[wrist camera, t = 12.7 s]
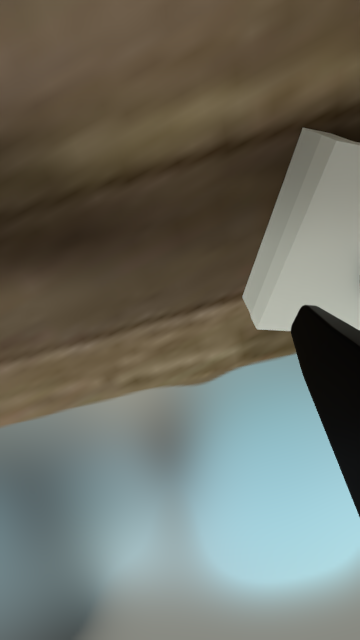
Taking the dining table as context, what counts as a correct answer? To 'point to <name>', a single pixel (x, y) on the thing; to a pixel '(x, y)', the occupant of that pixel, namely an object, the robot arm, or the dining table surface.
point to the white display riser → (311, 237)
